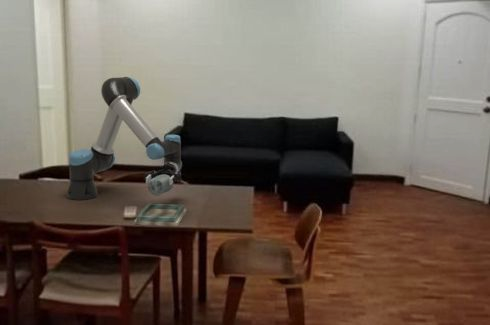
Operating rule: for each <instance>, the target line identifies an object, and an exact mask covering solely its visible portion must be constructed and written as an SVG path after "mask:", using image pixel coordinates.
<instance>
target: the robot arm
mask: <svg viewBox="0 0 490 325" xmlns="http://www.w3.org/2000/svg"><path fill="white" fill-rule="evenodd" d="M140 94H141V86H140V85H139V82H138V80H136V79H135V78H133V77H131V76H123V77H122V76H121V77H110V78H108V79H106V80H105V81H103V83H102V85H101V96H102V99H103V100H104V103H105V104H106V105H107V107H108V109H107V112H106V114H105V117H104V120H103V122H102V124H101V125H102V126H101V129H100V131H99V134H98V137H97V140H96V142H94V143H92V145H91V147H90V149H85V148H84V149H78V150H77V149H76V150H74V151H72V152H71V153H70V154H69V156H68V165H69V166H68V168H69V170H68V171H69V184H68V188H67V192H66V198H67V199H70V200H74V201H75V200H76V201H79V200H83V201H84V200H92V199H94V198H97V197H98V196H99V194H98V193H99V192H98V188H97V186H96V184H95V182H94V180H95V179H94V174H95V173H100V172H104V171H106V170H109V169H111V168H112V167H113V165H114V164H115V160H116V156H115V149H114V148H113V146H114V144H115V141H116V140H117V136H118V133H119V131H120V128H121V125H122V121H123V122H124V123H125V124H126V126H127V127H128V128H129V129H130V131H131V132H132V133H133V134H134V135H135V136H136V137H137V139H138V140H139V141H140V142H141V143H142V144H143V146H144V147H145V149H146V150H145V152H146V155H147V157H148V158H149V159H150V160H155V161H156V160H161V159H163V158H165V163H164V164H163V165H162V166H160V169H159V170H157V171H156V170H155V169H152V170H151V171H148V172H145V173H143V180H145V184H146V185H148V183H149V181H150V180H151V179H153V178H155V177H156V176H159V175H163V174H165V175H168V176H170V177H171V178H170V185H172V183H173V184H174V182H177V181H178V182H181V181H182V171H181V170H182V167H183V162H182V160H181V159H182V158H181V157H182V156H181V154H182V152H181V149H182V147H181V146H182V142H181V136H180V135H178V134H167V135H166V136H165V138H164V140H163V141H161V139H160V138H159V137H158V136H157V134H156V133H155V132H154V131H153V129H151V127H150V126H149V124H147V122H145V120H144V119H143V118H142V116H141V115H140V114H139V112H137V110H136V109H135V108H134V107H133V106H132V104H133V101H135V100H137V99H138V98H139V96H140Z"/></svg>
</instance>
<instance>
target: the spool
mask: <svg viewBox="0 0 490 325" xmlns="http://www.w3.org/2000/svg"><path fill="white" fill-rule="evenodd" d="M170 178H171V177H170V176H168V175H165V174H163V175H159V176H156V177H155V178H153V179H151V180H150V181H149V183H148V184H147V188H148V191H149V192H150V193H151V194H152V195H154V196H157V197H159V196H160V195H162V194H164V193H166V192H169V191H171V190H172V189H173V188H174V182H173V183H172V185H170Z"/></svg>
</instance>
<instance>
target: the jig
mask: <svg viewBox="0 0 490 325" xmlns="http://www.w3.org/2000/svg"><path fill="white" fill-rule="evenodd" d="M186 213H187V208H185V205H184V204H168V203H167V204H166V203H147V204H146V205H145V206H144V208H142V210H141V211H140V212H139V213H138V214H137V216H136V219H134V221H133V225H134V224H138V226H139V225H140V226H160V227H161V226H162V227H178V226H179V225H180V223H181V221H182V219H183V218H184V216H185V214H186Z"/></svg>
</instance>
